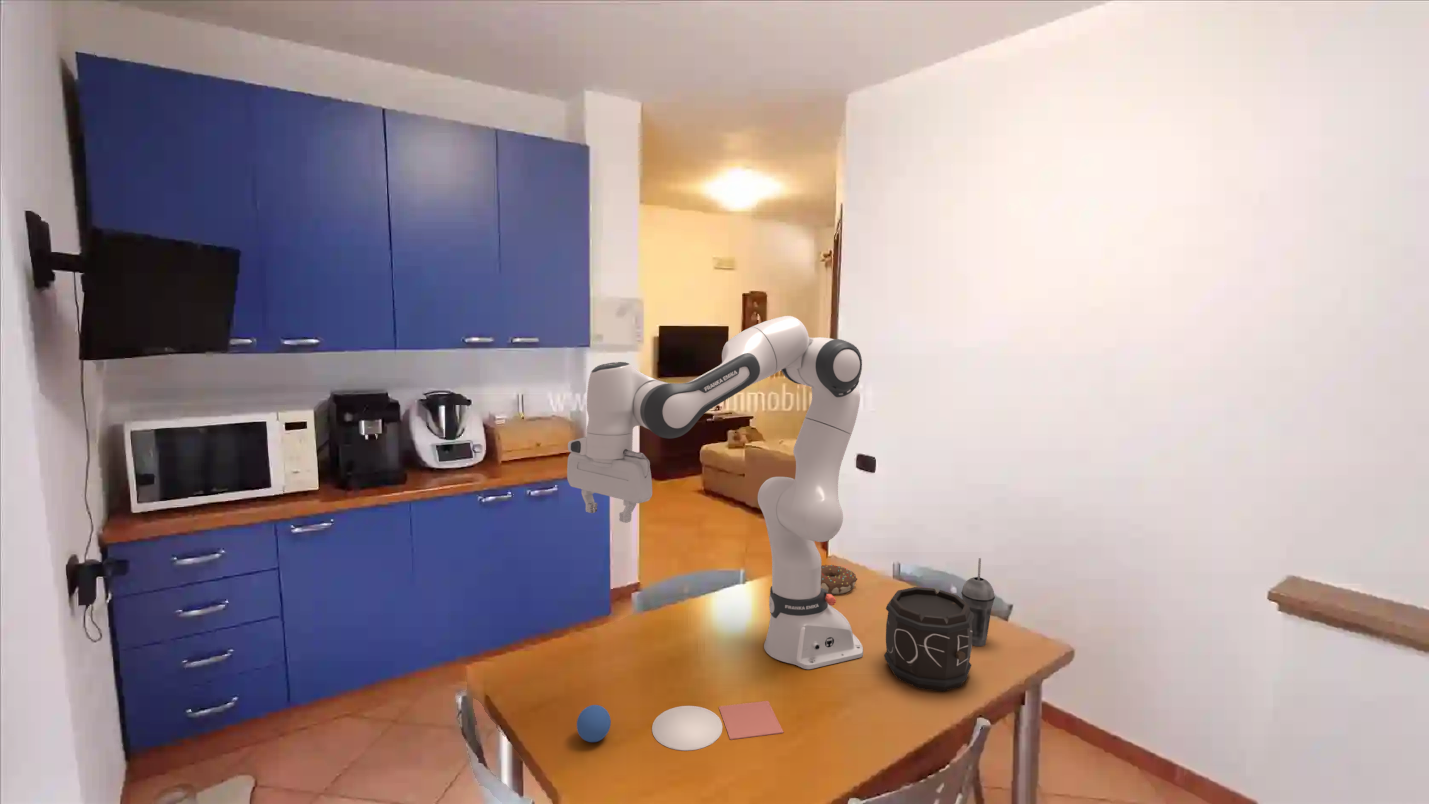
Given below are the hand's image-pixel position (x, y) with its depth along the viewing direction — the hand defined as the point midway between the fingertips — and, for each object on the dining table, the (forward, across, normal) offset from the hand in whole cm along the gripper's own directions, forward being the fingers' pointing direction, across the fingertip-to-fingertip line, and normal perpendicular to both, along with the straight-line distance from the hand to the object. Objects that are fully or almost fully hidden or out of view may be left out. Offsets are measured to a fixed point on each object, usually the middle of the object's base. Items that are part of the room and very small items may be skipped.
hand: (607, 516), depth 124 cm
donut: (+35, -11, -78) cm, 86 cm away
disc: (+37, -20, -2) cm, 42 cm away
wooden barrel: (+35, -49, -49) cm, 77 cm away
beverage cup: (+34, -53, -69) cm, 93 cm away
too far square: (+36, -28, -11) cm, 47 cm away
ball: (+34, -8, +10) cm, 37 cm away
